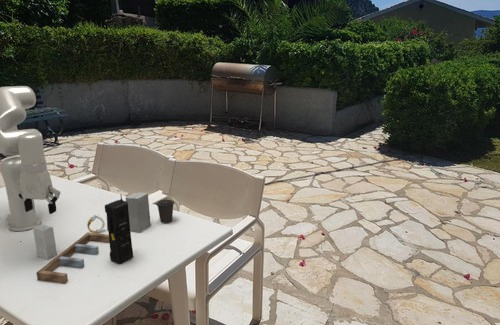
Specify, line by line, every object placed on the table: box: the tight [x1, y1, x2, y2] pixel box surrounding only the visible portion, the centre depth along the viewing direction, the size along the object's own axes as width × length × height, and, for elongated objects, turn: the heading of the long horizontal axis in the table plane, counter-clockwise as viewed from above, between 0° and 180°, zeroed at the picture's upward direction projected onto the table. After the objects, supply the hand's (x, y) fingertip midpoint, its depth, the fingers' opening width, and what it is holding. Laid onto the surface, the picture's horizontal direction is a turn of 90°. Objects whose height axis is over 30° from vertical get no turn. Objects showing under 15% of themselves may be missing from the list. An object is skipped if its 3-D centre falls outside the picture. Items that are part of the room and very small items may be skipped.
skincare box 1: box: [32, 223, 58, 260], centre depth 141 cm, size 6×4×12 cm
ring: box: [86, 214, 106, 234], centre depth 160 cm, size 7×3×8 cm, turn 120°
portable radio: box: [104, 195, 134, 265], centre depth 137 cm, size 8×6×25 cm
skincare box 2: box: [125, 191, 152, 233], centre depth 164 cm, size 8×7×16 cm
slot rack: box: [36, 232, 110, 285], centre depth 140 cm, size 10×30×3 cm, turn 170°
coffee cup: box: [156, 199, 175, 224], centre depth 172 cm, size 8×8×10 cm
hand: (41, 211), depth 138 cm, fingers open, 9 cm apart
